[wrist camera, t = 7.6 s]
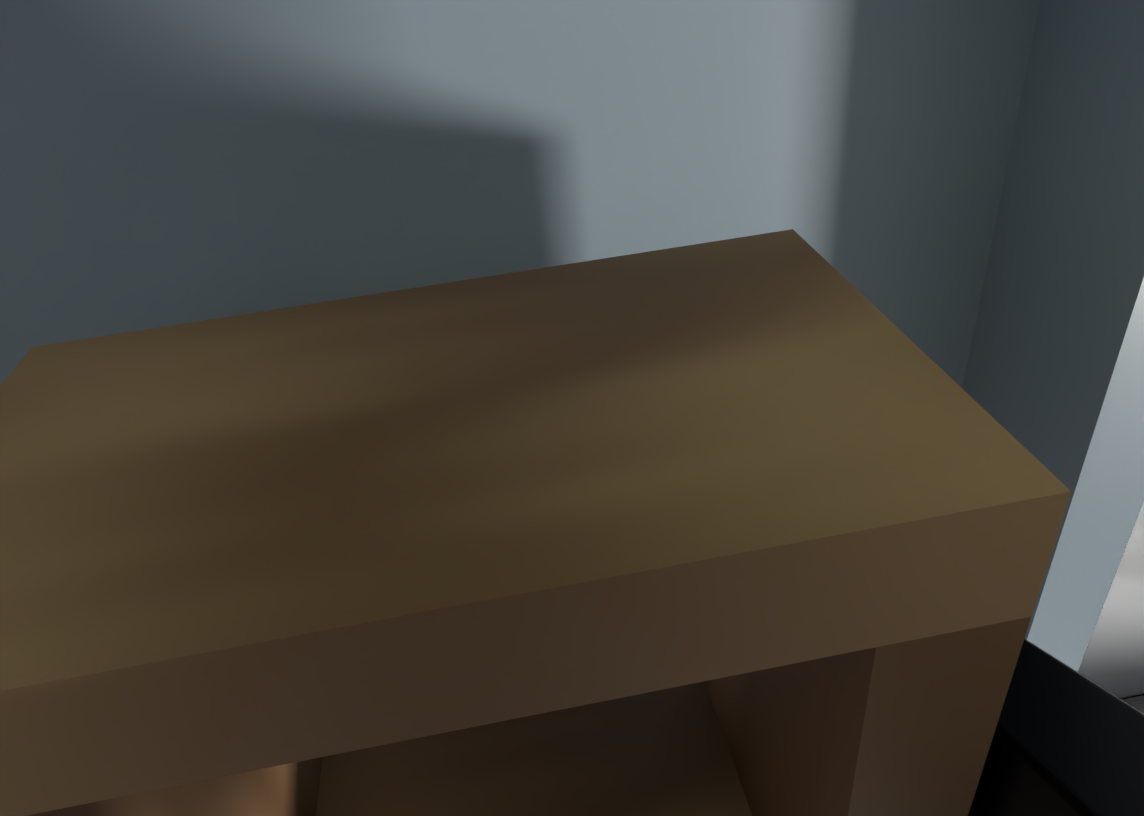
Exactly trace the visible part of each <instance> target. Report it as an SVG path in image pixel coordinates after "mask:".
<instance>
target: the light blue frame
mask: <svg viewBox="0 0 1144 816" xmlns="http://www.w3.org/2000/svg"><path fill="white" fill-rule="evenodd" d="M791 229H793V230H794V231H795V232H796V233H797V234H798V235H800V236H801V237H802V238H803V239H804V240H805V241H806V242H807V243H808V244H809V245H810V246H811V247H812V248H813V249H814V250H815V251H817V252H818V253H819V254H820V255H821V256H822V257H823V258H824V259H825V260H826V261H827V262H828V263H829V264H830V265H831V266H832V267H834V268H835V269H836V270H837V271H838V272H839V273H840V274H841V275H842V276H843V277H844V278H845V279H846V280H847V281H848V282H849V283H851V284H852V285H853V286H854V287H855V288H856V289H857V290H858V291H859V292H860V293H861V294H862V295H863V296H864V297H865V298H866V299H868V300H869V301H870V302H871V303H872V304H873V305H874V306H875V307H876V308H877V309H878V310H879V311H880V312H881V313H882V314H883V315H885V316H886V317H887V318H888V319H889V320H890V321H891V322H892V323H893V324H894V325H895V326H896V327H897V328H898V329H899V330H900V331H902V332H903V333H904V334H905V335H906V336H907V337H908V338H909V339H910V340H911V341H912V342H913V343H914V344H915V345H916V346H917V347H919V348H920V349H921V350H922V351H923V352H924V353H925V354H926V355H927V356H928V357H929V358H930V359H931V360H932V361H933V362H934V363H936V364H937V365H938V366H939V367H940V368H941V369H942V370H943V371H944V372H945V373H946V374H947V375H948V376H949V377H950V378H951V379H953V380H954V381H955V382H956V383H957V384H958V385H959V386H960V387H961V388H962V389H963V390H964V391H965V392H966V393H967V394H968V395H970V396H971V397H972V398H973V399H974V400H975V401H976V402H977V403H978V404H979V405H980V406H981V407H982V408H983V409H984V410H985V411H987V412H988V413H989V414H990V415H991V416H992V417H993V418H994V419H995V420H996V421H997V422H998V423H999V424H1000V425H1001V426H1002V427H1004V428H1005V429H1006V430H1007V431H1008V432H1009V433H1010V434H1011V435H1012V436H1013V437H1014V438H1015V439H1016V440H1017V441H1018V442H1019V443H1021V444H1022V445H1023V446H1024V447H1025V448H1026V449H1027V450H1028V451H1029V452H1030V453H1031V454H1032V455H1033V456H1034V457H1035V458H1036V459H1038V460H1039V461H1040V462H1041V463H1042V464H1043V465H1044V466H1045V467H1046V468H1047V469H1048V470H1049V471H1050V472H1051V473H1052V474H1053V475H1055V476H1056V477H1057V478H1058V479H1059V480H1060V481H1061V482H1062V483H1063V484H1064V485H1065V486H1066V487H1067V488H1068V489H1069V490H1070V491H1071V494H1070V498H1069V501H1068V504H1067V507H1066V510H1065V513H1064V516H1063V520H1062V523H1061V526H1060V529H1059V532H1058V535H1057V538H1056V541H1055V545H1054V548H1053V551H1052V554H1051V557H1050V560H1049V563H1048V567H1047V570H1046V573H1045V576H1044V579H1043V582H1042V585H1041V588H1040V592H1039V595H1038V598H1037V601H1036V604H1035V607H1034V610H1033V613H1032V617H1031V620H1030V623H1029V626H1028V629H1027V632H1026V635H1025V639H1027V640H1028V641H1030V642H1032V643H1033V644H1035V645H1036V646H1038V647H1039V648H1041V649H1043V650H1044V651H1046V652H1047V653H1049V654H1050V655H1052V656H1054V657H1055V658H1057V659H1058V660H1060V661H1061V662H1063V663H1065V664H1066V665H1068V666H1069V667H1071V668H1072V669H1074V670H1076V671H1077V672H1078V670H1079V667H1080V665H1081V662H1082V659H1083V657H1084V654H1085V652H1086V649H1087V646H1088V644H1089V641H1090V639H1091V636H1092V634H1093V631H1094V628H1095V626H1096V623H1097V621H1098V618H1099V615H1100V613H1101V610H1102V608H1103V605H1104V602H1105V600H1106V597H1107V595H1108V592H1109V590H1110V587H1111V584H1112V582H1113V579H1114V577H1115V574H1116V571H1117V569H1118V566H1119V564H1120V561H1121V558H1122V556H1123V553H1124V551H1125V548H1126V546H1127V543H1128V540H1129V538H1130V535H1131V533H1132V530H1133V527H1134V525H1135V522H1136V520H1137V517H1138V514H1139V512H1140V509H1141V507H1142V504H1143V502H1144V0H0V386H1V384H2V383H3V382H4V381H5V380H6V378H7V377H8V376H9V375H10V373H11V372H12V371H13V370H14V369H15V367H16V366H17V365H18V364H19V362H20V361H21V360H22V359H23V358H24V356H25V355H26V354H27V353H28V351H29V350H30V349H31V348H32V347H35V346H42V345H48V344H55V343H61V342H68V341H74V340H80V339H87V338H93V337H100V336H106V335H113V334H119V333H126V332H132V331H139V330H145V329H151V328H158V327H164V326H171V325H177V324H184V323H190V322H197V321H203V320H210V319H216V318H223V317H229V316H235V315H242V314H248V313H255V312H261V311H268V310H274V309H281V308H287V307H294V306H300V305H306V304H313V303H319V302H326V301H332V300H339V299H345V298H352V297H358V296H365V295H371V294H378V293H384V292H390V291H397V290H403V289H410V288H416V287H423V286H429V285H436V284H442V283H449V282H455V281H461V280H468V279H474V278H481V277H487V276H494V275H500V274H507V273H513V272H520V271H526V270H533V269H539V268H545V267H552V266H558V265H565V264H571V263H578V262H584V261H591V260H597V259H604V258H610V257H616V256H623V255H629V254H636V253H642V252H649V251H655V250H662V249H668V248H675V247H681V246H688V245H694V244H700V243H707V242H713V241H720V240H726V239H733V238H739V237H746V236H752V235H759V234H765V233H771V232H778V231H784V230H791Z"/></svg>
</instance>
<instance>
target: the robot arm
mask: <svg viewBox="0 0 1144 816" xmlns="http://www.w3.org/2000/svg"><path fill="white" fill-rule="evenodd" d="M968 816H1144V714H1143V713H1142V712H1140V711H1139V710H1137V709H1135V708H1134V707H1132V706H1131V705H1129V704H1128V703H1126V702H1124V701H1123V700H1121V699H1120V698H1118V697H1117V696H1115V695H1113V694H1112V693H1110V692H1109V691H1107V690H1106V689H1104V688H1102V687H1101V686H1099V685H1098V684H1096V683H1095V682H1093V681H1091V680H1090V679H1088V678H1087V677H1085V676H1083V675H1082V674H1080V673H1079V672H1077V671H1076V670H1074V669H1072V668H1071V667H1069V666H1068V665H1066V664H1065V663H1063V662H1061V661H1060V660H1058V659H1057V658H1055V657H1054V656H1052V655H1050V654H1049V653H1047V652H1046V651H1044V650H1043V649H1041V648H1039V647H1038V646H1036V645H1035V644H1033V643H1032V642H1030V641H1028V640H1027V639H1024V642H1023V645H1022V648H1021V651H1020V654H1019V657H1018V660H1017V664H1016V667H1015V670H1014V673H1013V676H1012V679H1011V682H1010V686H1009V689H1008V692H1007V695H1006V698H1005V701H1004V704H1003V707H1002V711H1001V714H1000V717H999V720H998V723H997V726H996V729H995V733H994V736H993V739H992V742H991V745H990V748H989V751H988V754H987V758H986V761H985V764H984V767H983V770H982V773H981V776H980V780H979V783H978V786H977V789H976V792H975V795H974V798H973V801H972V805H971V808H970V811H969V814H968Z"/></svg>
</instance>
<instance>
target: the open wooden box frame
mask: <svg viewBox="0 0 1144 816" xmlns="http://www.w3.org/2000/svg"><path fill="white" fill-rule="evenodd" d="M1070 494H1071V491H1070V490H1069V489H1068V488H1067V487H1066V486H1065V485H1064V484H1063V483H1062V482H1061V481H1060V480H1059V479H1058V478H1057V477H1056V476H1055V475H1053V474H1052V473H1051V472H1050V471H1049V470H1048V469H1047V468H1046V467H1045V466H1044V465H1043V464H1042V463H1041V462H1040V461H1039V460H1038V459H1036V458H1035V457H1034V456H1033V455H1032V454H1031V453H1030V452H1029V451H1028V450H1027V449H1026V448H1025V447H1024V446H1023V445H1022V444H1021V443H1019V442H1018V441H1017V440H1016V439H1015V438H1014V437H1013V436H1012V435H1011V434H1010V433H1009V432H1008V431H1007V430H1006V429H1005V428H1004V427H1002V426H1001V425H1000V424H999V423H998V422H997V421H996V420H995V419H994V418H993V417H992V416H991V415H990V414H989V413H988V412H987V411H985V410H984V409H983V408H982V407H981V406H980V405H979V404H978V403H977V402H976V401H975V400H974V399H973V398H972V397H971V396H970V395H968V394H967V393H966V392H965V391H964V390H963V389H962V388H961V387H960V386H959V385H958V384H957V383H956V382H955V381H954V380H953V379H951V378H950V377H949V376H948V375H947V374H946V373H945V372H944V371H943V370H942V369H941V368H940V367H939V366H938V365H937V364H936V363H934V362H933V361H932V360H931V359H930V358H929V357H928V356H927V355H926V354H925V353H924V352H923V351H922V350H921V349H920V348H919V347H917V346H916V345H915V344H914V343H913V342H912V341H911V340H910V339H909V338H908V337H907V336H906V335H905V334H904V333H903V332H902V331H900V330H899V329H898V328H897V327H896V326H895V325H894V324H893V323H892V322H891V321H890V320H889V319H888V318H887V317H886V316H885V315H883V314H882V313H881V312H880V311H879V310H878V309H877V308H876V307H875V306H874V305H873V304H872V303H871V302H870V301H869V300H868V299H866V298H865V297H864V296H863V295H862V294H861V293H860V292H859V291H858V290H857V289H856V288H855V287H854V286H853V285H852V284H851V283H849V282H848V281H847V280H846V279H845V278H844V277H843V276H842V275H841V274H840V273H839V272H838V271H837V270H836V269H835V268H834V267H832V266H831V265H830V264H829V263H828V262H827V261H826V260H825V259H824V258H823V257H822V256H821V255H820V254H819V253H818V252H817V251H815V250H814V249H813V248H812V247H811V246H810V245H809V244H808V243H807V242H806V241H805V240H804V239H803V238H802V237H801V236H800V235H798V234H797V233H796V232H795V231H794V230H793V229H791V230H784V231H778V232H771V233H765V234H759V235H752V236H746V237H739V238H733V239H726V240H720V241H713V242H707V243H700V244H694V245H688V246H681V247H675V248H668V249H662V250H655V251H649V252H642V253H636V254H629V255H623V256H616V257H610V258H604V259H597V260H591V261H584V262H578V263H571V264H565V265H558V266H552V267H545V268H539V269H533V270H526V271H520V272H513V273H507V274H500V275H494V276H487V277H481V278H474V279H468V280H461V281H455V282H449V283H442V284H436V285H429V286H423V287H416V288H410V289H403V290H397V291H390V292H384V293H378V294H371V295H365V296H358V297H352V298H345V299H339V300H332V301H326V302H319V303H313V304H306V305H300V306H294V307H287V308H281V309H274V310H268V311H261V312H255V313H248V314H242V315H235V316H229V317H223V318H216V319H210V320H203V321H197V322H190V323H184V324H177V325H171V326H164V327H158V328H151V329H145V330H139V331H132V332H126V333H119V334H113V335H106V336H100V337H93V338H87V339H80V340H74V341H68V342H61V343H55V344H48V345H42V346H35V347H32V348H31V349H30V350H29V351H28V353H27V354H26V355H25V356H24V358H23V359H22V360H21V361H20V362H19V364H18V365H17V366H16V367H15V369H14V370H13V371H12V372H11V373H10V375H9V376H8V377H7V378H6V380H5V381H4V382H3V383H2V384H1V386H0V816H968V814H969V811H970V808H971V805H972V801H973V798H974V795H975V792H976V789H977V786H978V783H979V780H980V776H981V773H982V770H983V767H984V764H985V761H986V758H987V754H988V751H989V748H990V745H991V742H992V739H993V736H994V733H995V729H996V726H997V723H998V720H999V717H1000V714H1001V711H1002V707H1003V704H1004V701H1005V698H1006V695H1007V692H1008V689H1009V686H1010V682H1011V679H1012V676H1013V673H1014V670H1015V667H1016V664H1017V660H1018V657H1019V654H1020V651H1021V648H1022V645H1023V642H1024V639H1025V635H1026V632H1027V629H1028V626H1029V623H1030V620H1031V617H1032V613H1033V610H1034V607H1035V604H1036V601H1037V598H1038V595H1039V592H1040V588H1041V585H1042V582H1043V579H1044V576H1045V573H1046V570H1047V567H1048V563H1049V560H1050V557H1051V554H1052V551H1053V548H1054V545H1055V541H1056V538H1057V535H1058V532H1059V529H1060V526H1061V523H1062V520H1063V516H1064V513H1065V510H1066V507H1067V504H1068V501H1069V498H1070Z"/></svg>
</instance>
